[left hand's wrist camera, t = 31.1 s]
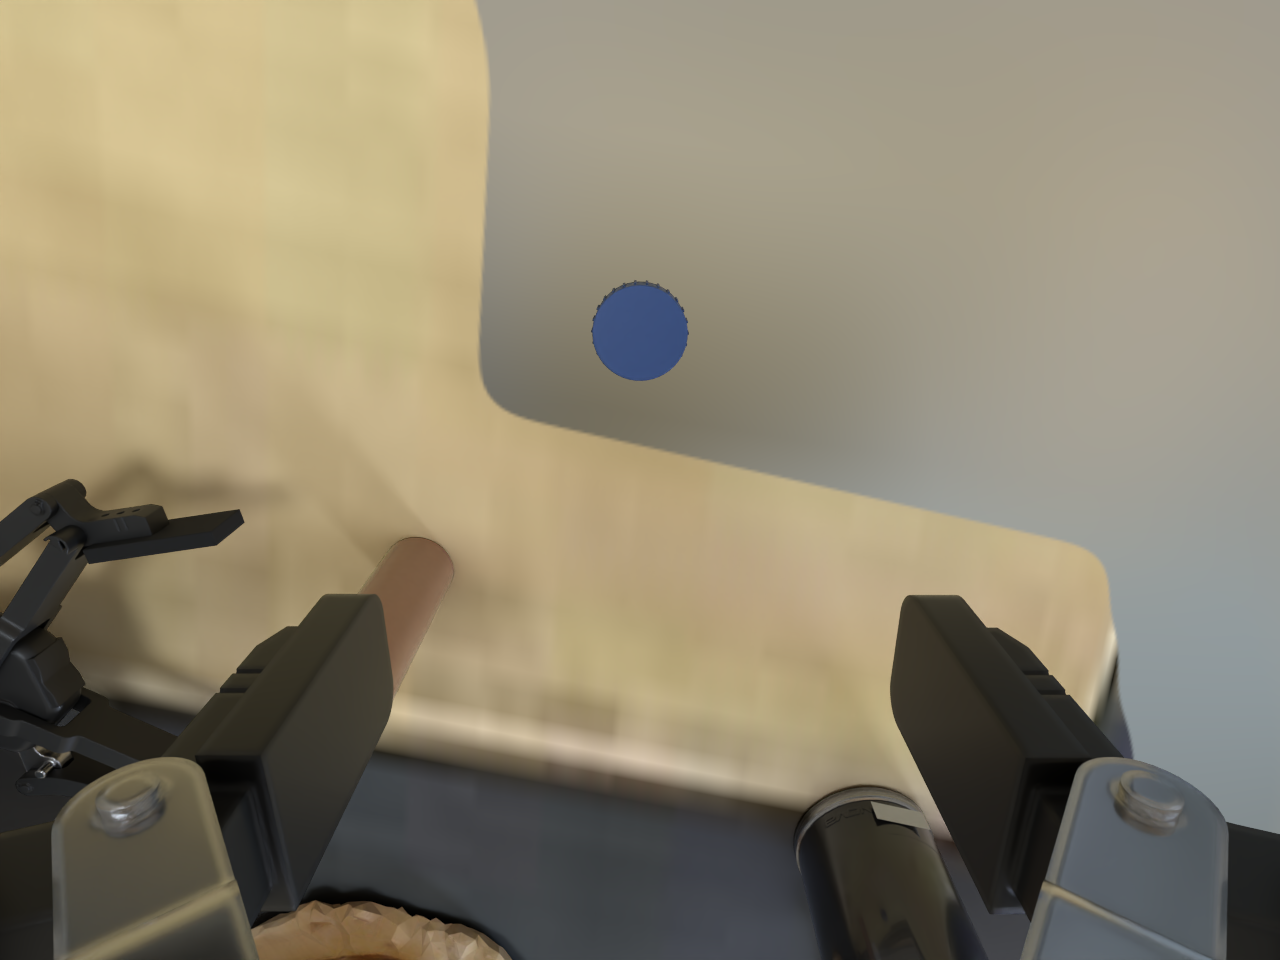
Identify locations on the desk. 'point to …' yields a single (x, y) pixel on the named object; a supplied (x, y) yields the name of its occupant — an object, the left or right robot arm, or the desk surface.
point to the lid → (640, 331)
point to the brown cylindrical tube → (409, 596)
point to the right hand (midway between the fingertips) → (274, 642)
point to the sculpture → (368, 935)
